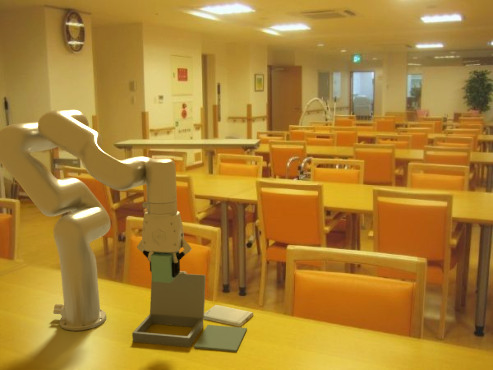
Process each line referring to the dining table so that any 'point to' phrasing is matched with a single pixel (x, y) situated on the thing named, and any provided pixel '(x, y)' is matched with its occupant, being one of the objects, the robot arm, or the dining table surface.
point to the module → (161, 267)
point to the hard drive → (227, 315)
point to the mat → (221, 338)
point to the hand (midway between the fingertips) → (165, 274)
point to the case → (167, 339)
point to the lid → (179, 296)
